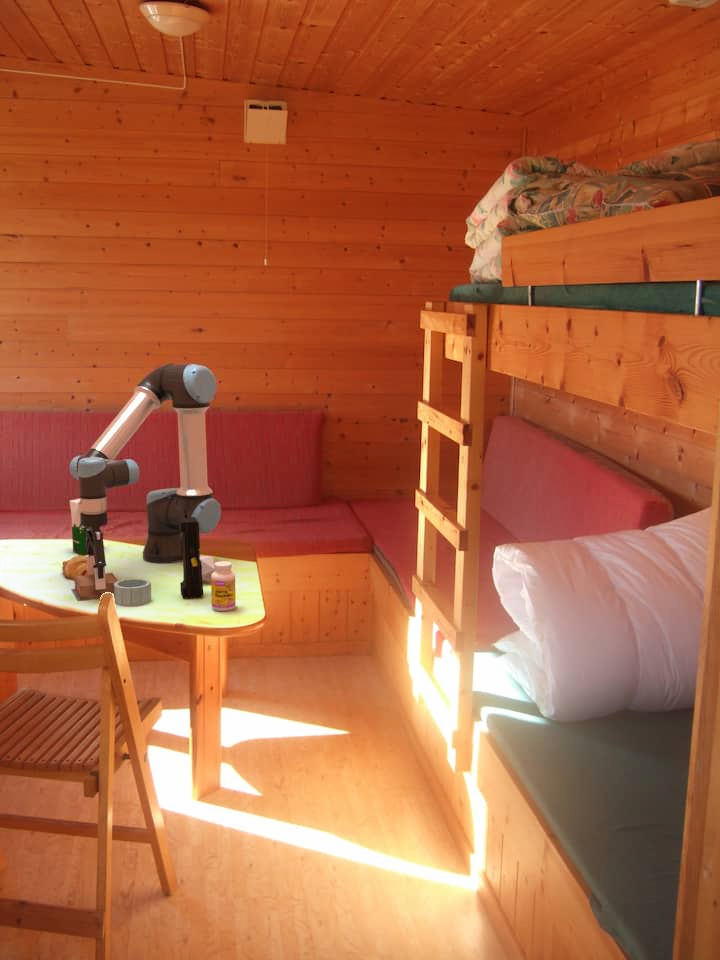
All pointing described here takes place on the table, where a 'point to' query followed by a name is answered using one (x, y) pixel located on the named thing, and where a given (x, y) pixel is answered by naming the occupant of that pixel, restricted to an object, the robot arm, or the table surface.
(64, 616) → the table surface
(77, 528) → the milk carton
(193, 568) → the portable radio
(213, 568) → the die
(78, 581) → the cover
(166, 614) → the table surface
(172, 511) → the robot arm
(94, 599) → the mat
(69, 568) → the croissant
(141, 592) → the bowl
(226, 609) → the supplement bottle
